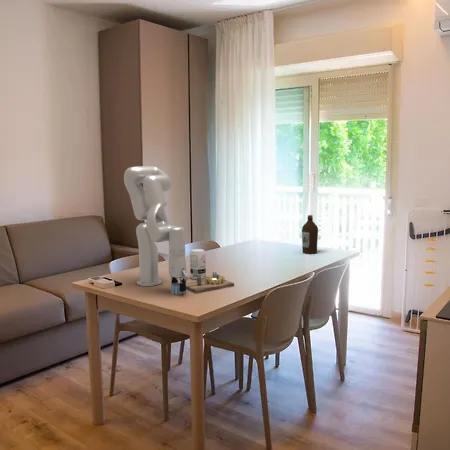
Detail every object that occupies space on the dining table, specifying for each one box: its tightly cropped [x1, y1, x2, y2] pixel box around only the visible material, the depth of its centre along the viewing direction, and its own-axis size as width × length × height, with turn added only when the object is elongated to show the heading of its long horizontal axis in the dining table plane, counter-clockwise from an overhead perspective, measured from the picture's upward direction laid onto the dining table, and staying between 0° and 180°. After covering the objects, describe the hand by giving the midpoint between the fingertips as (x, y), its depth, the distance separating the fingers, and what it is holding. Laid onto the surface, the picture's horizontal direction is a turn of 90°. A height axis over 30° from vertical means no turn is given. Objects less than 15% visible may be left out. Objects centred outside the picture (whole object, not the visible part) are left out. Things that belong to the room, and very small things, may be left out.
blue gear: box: [170, 282, 187, 296], centre depth 231 cm, size 7×7×4 cm
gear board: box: [186, 275, 235, 294], centre depth 241 cm, size 14×22×6 cm, turn 124°
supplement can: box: [189, 248, 207, 280], centre depth 258 cm, size 8×8×15 cm
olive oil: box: [301, 214, 319, 255], centre depth 321 cm, size 11×11×25 cm
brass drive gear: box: [204, 271, 226, 285], centre depth 243 cm, size 10×10×5 cm
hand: (178, 289), depth 232 cm, fingers closed on blue gear, 7 cm apart
